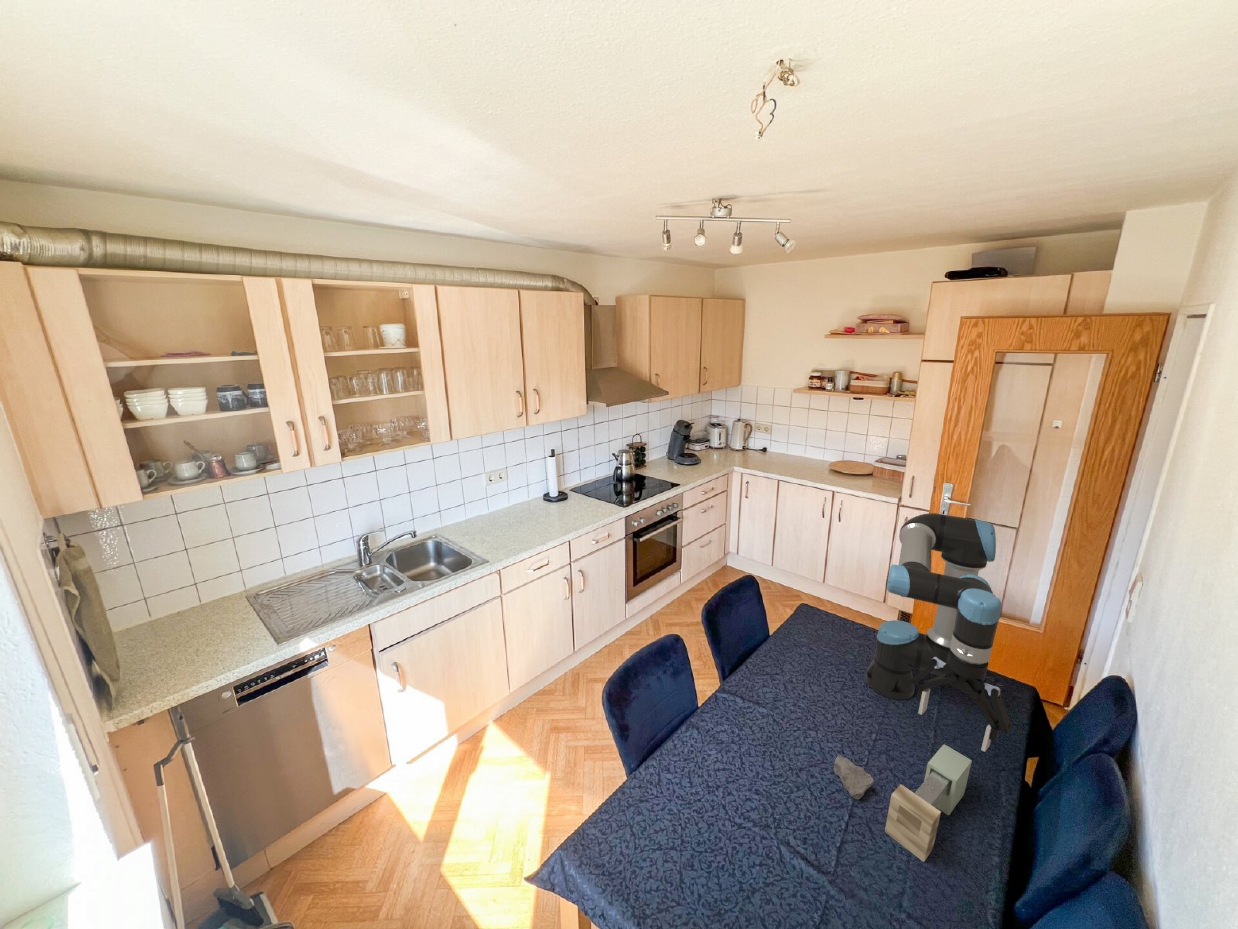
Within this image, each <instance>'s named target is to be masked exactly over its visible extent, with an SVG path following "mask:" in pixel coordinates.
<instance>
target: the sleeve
mask: <svg viewBox="0 0 1238 929" xmlns="http://www.w3.org/2000/svg"><path fill="white" fill-rule="evenodd" d="M972 761H973V760H972V759H970V758H968V757H967V756H965V755H963V754H961V753H960V752H958V751H956V750H954V749H953V748H951V747H950V746H948V745H946V744H942V746H941V747H940V748H939V749H938V750H937V751H936V753H935V754H934V755H933V756H932V757H931V758H930V760H929V761H928V762H927V765H926V770H925V776H924V780H923V782H924V781H925V780H926V779H927V777H928V776H929V775H930V774H931V772H932V771H933V770H936V771H937V772H939V773H940V774H942V775H943V776H945V777H947V778H948V779H950V780H951V781H952V784H951V788H950V789H949V791H948V792H947V793H946V795H945V796H944V797H943V799H942V800H941V801H940V803H939V804H938V805H937V807H936V809H938V810H939V811H941V813H944V814H945V815H947V816H950V815H951V814H952V812H953V810H954V809H955V807H956V806H957V805H958V804H959V802H960V801H961V799H962V798H963V797H964V795H965V792H966V788H967V783H968V779H969V774H970V772H971V767H972V763H973V762H972Z"/></svg>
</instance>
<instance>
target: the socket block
mask: <svg viewBox="0 0 1238 929" xmlns="http://www.w3.org/2000/svg"><path fill="white" fill-rule="evenodd" d="M887 812H888V813H887V818H886V823H885V829H884V833H886V834H887V835H888V836H889V837H891V838H892V840H893V839H894V841H896V842H897V843H898V844H900V845H901V846H902V847H903V848H904V849H906V850H907V851H909V852H910V853H912V855H914V856H915V857H916V858H918V859H919V860H920V861H921V862H922V863H924V862H925V861H926V860H927V858H928V857H929V855H930V854H931V853H932V852H933V849H934V846H935V841H936V836H937V832H938V828H939V822H940V817H941V815H942V814H941V813H942V811H941V810H939V809H938V808H937V807H936V808H935V807H933V806H932V805H931V804H929V803H928V802H926V801H925V800H923V799H922V798H920V797H919V796H917V795H916V794H915V792H913V791H912V790H910V789H909V788H907V787H906V786H904V785H903V784H901V783H900V784H899V785H898V786H897V788H895V790H894V791H893V792H892V793H891V795H890V801H889V806H888V811H887Z"/></svg>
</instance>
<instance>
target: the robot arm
mask: <svg viewBox="0 0 1238 929" xmlns="http://www.w3.org/2000/svg"><path fill="white" fill-rule="evenodd" d="M996 536H997V535H996V529H995V526H994V524H992V523H991V522H988V521H984V520H978V519H976V518H974V519H973V518H969V517H961V516H955V515H947V514H943V513H937V512H936V513H933V512H930V513H923V514H922V513H921V514H919V515H916V516H913V517H911V518H910V519H908V520H907V521H906V522H904V524H903V525H902V526H901V528H900V530H899V536H898V538H899V542H900V544H901V545H900V546H901V548H900V553H899V559H898V564H892V565H890V566H889V571H888V576H887V577H888V578H887V582H886V584H887V585H886V590H887V592H889V593H890V594H894V595H897V596H900V597H902V598H908V599H912V600H916V601H921V602H924V603H929V604H930V603H931V604H934V605H937V607H936V614H935V617H934V623H933V627H930V628H928V629H927V630H926V634H925V633H921V632H920V631H919V629H918V627H917V626H916V625H912V623H911V622H907V621H903V620H897V619H896V620H895V619H893V620H888V621H885V622H883V623H881V624H880V626H879V627H878V631H877V634H876V642H875V650H874V654H873V655H874V656H873V660H872V662H870V664H869V666H868V667H867V669H866V671H865V683H866V684H867V685H868V687H869V688H871V690H873V691H874V692H876V693H877V694H879V695H880V696H882V697H886V698H887V699H892V700H896V701H898V700H899V701H903V700H905V701H906V700H909V699H911V698H912V697H913V696H914V695H915V688H916V687H917V688H918V690H917V694H916V697H917V700H919V701H920V702H919V708H918V712H917V713H918V714H919V715H921V716H922V715H923V714H924V713H925V712H926V711H927V708H928V704H929V699H930V693H931V688H935V687H938V686H941V685H947V684H950V685H952V687H953V688H955V689H958V690H960V691H961V692H963V693H965V694H966V695H968V694H969V696H970V697H971V698H972V700H974V701H975V702H976V704H977V706H978V708H979V709H980V711H981V713H982V714H983V716H984V719H985V720H986V722H987V723H988V724H987V726H986V729H985V732H984V736H983V740H982V744H981V749H980V750H981V751H982V752H984V753H985V752H987V750H988V749H989V747H990V746H991V742H996V740H997V739H998V737H999V733H1000V732H1002V733H1003V734H1006V735H1007V734H1009V732H1010V731H1011V729H1012V727H1013V726H1012V723H1011V721H1010V717H1009V714H1008V712H1007V709H1006V706H1005V704H1004V700H1003V697H1002V687H1001V685H1000V684H999V685H998V684H996V685H992V684H990V683H988V682H987V681H986V676H987V672H988V667H989V661H990V660H991V654H992V650H993V647H994V640H995V637H996V632H997V629H998V626H999V625H998V624H999V621H1000V619H1001V616H1002V613H1001V611H1002V606H1003V605H1002V600H1001V599H1000V598H999V597H997V596H996V595H995V594H994V592H993V589H992V587H991V586H990V584H989V583H988V581H987V580H986V579H985V578H983V577H982V576H979V571H980V570H983V569H985V568H987V564H988V563H991V562H994V561H995V560H996V549H997V538H996ZM932 551H935V552H939V553H941V554H940V558H941V560H943V561H944V563H945V565H944V569H943V570H944V571H943V574H941V573H936V572H932ZM914 668H915V669H917V670H920V672H918V673H917V674H916V675H915V676H914V675H913V672H912V671H913V669H914ZM929 674H933V675H936V677H932V678H930V679H928V680H923V679H924V678H925V677H926V676H928V675H929ZM915 686H916V687H915ZM984 690H986V691H987V693H988V694H987V695H988V696H990V701H991V704H992V705H991V704H990V702H989V700H988V698H987V697H986V694H985V691H984Z"/></svg>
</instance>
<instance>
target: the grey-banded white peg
mask: <svg viewBox="0 0 1238 929" xmlns="http://www.w3.org/2000/svg"><path fill="white" fill-rule="evenodd" d="M951 784H952V781H951V780H950V779H948V778H947V777H945V776H943V775H942V774H940V773H939V772H937V771H936V770H933V771H932V772H931V774H930V775H929V776H928V777H927V779H926V780H925V781H924V780H923V782H922V784H920V786H919V787H918V788H917V789H916V791H915V792H914V793H915V794H916V795H917V796H919V797H920V798H922V799H923V800H925V801H926V802H928V803H929V804H931V805H932V806H933V807H935V808H936V809H937V805H938V804H939V803H940V801H941V800H942V799H943V797H944V796H945V795H946V793H947V792H948V791H949V789H950V788H951Z"/></svg>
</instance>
